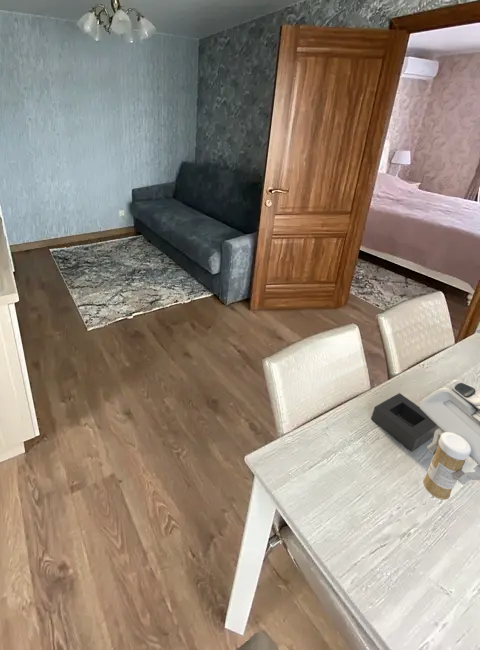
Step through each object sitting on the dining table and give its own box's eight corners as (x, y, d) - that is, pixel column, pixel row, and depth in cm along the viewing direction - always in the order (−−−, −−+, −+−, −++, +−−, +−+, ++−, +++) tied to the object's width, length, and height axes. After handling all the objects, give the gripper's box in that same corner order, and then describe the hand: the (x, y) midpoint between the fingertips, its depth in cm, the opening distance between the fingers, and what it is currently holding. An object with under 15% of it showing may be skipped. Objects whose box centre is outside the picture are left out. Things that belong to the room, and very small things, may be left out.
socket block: (395, 404, 100) (399, 392, 98) (436, 434, 91) (441, 422, 89) (370, 419, 95) (374, 406, 93) (411, 452, 86) (416, 439, 84)
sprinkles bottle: (425, 473, 72) (444, 426, 67) (452, 489, 69) (474, 442, 64) (419, 488, 69) (438, 441, 64) (447, 506, 66) (469, 458, 61)
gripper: (576, 480, 56) (506, 530, 58) (458, 386, 75) (408, 427, 77) (566, 466, 54) (493, 519, 56) (447, 373, 72) (396, 415, 74)
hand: (443, 465), depth 66 cm, fingers closed on sprinkles bottle, 4 cm apart
